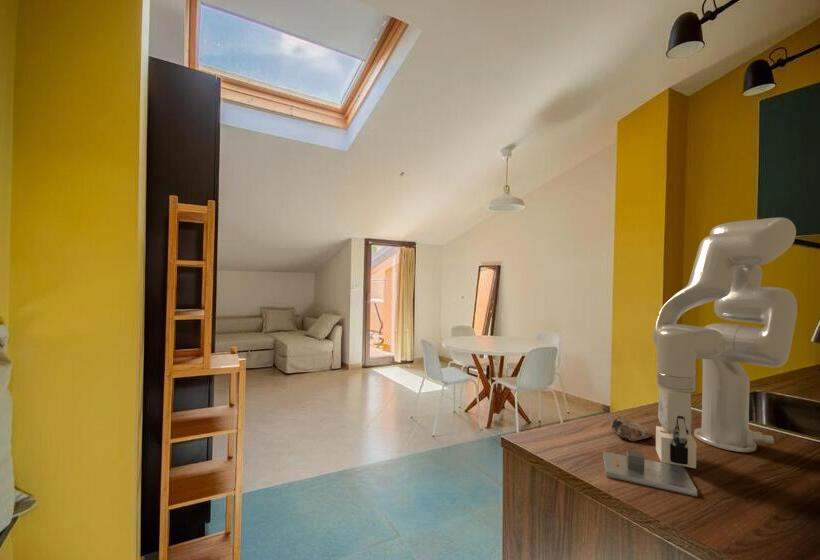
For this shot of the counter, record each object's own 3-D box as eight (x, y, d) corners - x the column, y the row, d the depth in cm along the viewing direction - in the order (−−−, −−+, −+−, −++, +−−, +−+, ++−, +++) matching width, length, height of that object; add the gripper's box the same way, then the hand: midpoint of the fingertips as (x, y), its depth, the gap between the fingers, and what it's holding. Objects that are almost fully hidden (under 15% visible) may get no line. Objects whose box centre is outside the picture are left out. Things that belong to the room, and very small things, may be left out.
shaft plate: (683, 472, 81) (684, 453, 81) (697, 496, 72) (697, 475, 72) (603, 456, 88) (603, 439, 88) (606, 476, 79) (606, 457, 79)
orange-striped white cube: (688, 455, 88) (688, 429, 88) (696, 468, 82) (696, 441, 82) (655, 449, 91) (655, 425, 91) (661, 462, 85) (661, 435, 85)
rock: (622, 443, 96) (662, 438, 95) (615, 420, 98) (655, 415, 96) (610, 437, 104) (647, 433, 103) (604, 416, 106) (640, 411, 105)
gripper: (650, 370, 96) (649, 437, 96) (664, 389, 80) (663, 470, 80) (685, 373, 93) (684, 442, 93) (707, 394, 77) (706, 477, 77)
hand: (675, 454), depth 87 cm, fingers closed on orange-striped white cube, 6 cm apart
